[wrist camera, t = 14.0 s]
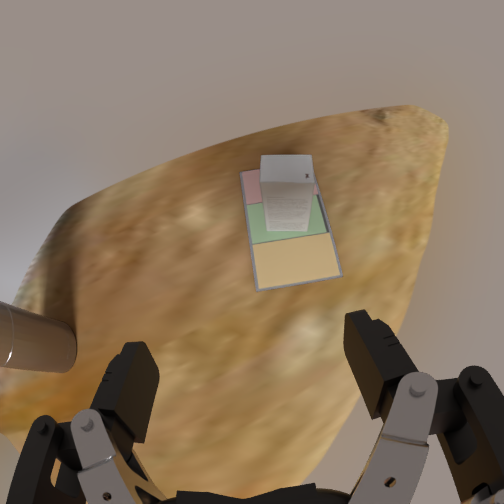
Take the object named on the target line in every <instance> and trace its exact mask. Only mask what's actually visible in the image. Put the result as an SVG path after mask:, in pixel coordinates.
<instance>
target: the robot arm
mask: <svg viewBox="0 0 504 504" xmlns="http://www.w3.org/2000/svg"><path fill="white" fill-rule="evenodd" d="M343 344H344V351H345V355H346V358H347V360H348V363H349V365H350V367H351V370H352V372H353V374H354V377H355V379H356V382H357V384H358V386H359V389H360V391H361V394H362V396H363V398H364V401H365V404H366V406H367V409H368V411H369V414H370V416H371V419H372V420H373V419H376V418H378V417H381V419H382V421H383V423H384V424H383V426H382V429H381V431H380V434H379V436H378V438H377V441H376V443H375V445H374V448H373V450H372V452H371V455H370V457H369V459H368V461H367V463H366V465H365V467H364V469H363V471H362V473H361V475H360V477H359V479H358V480H357V482H356V484H355V486H354V488H353V490H352V492H351V493H350V495H349V494H347V493H344V492H341V491H337V490H332V489H320V488H319V489H318V488H316V485H315V483H311V484H305V485H300V486H293V487H287V488H280V489H277V490H274V491H271V492H268V493H264V494H261V495H258V496H254V497H251V498H247V499H239V498H234V497H228V496H223V495H219V494H214V493H210V492H191V491H177V494H176V497H174V498H170V499H167V498H166V496H165V495H164V494H163V493H162V492H161V491H160V490H159V489H158V488H157V487H156V486H155V484H154V483H153V481H152V480H151V478H150V477H149V475H148V473H147V472H146V470H145V468H144V467H143V465H142V463H141V461H140V460H139V458H138V456H137V454H136V452H135V451H134V450H133V449H132V447H133V443H134V442H135V443H144V442H145V437H146V433H147V428H148V424H149V420H150V415H151V411H152V407H153V403H154V399H155V395H156V391H157V387H158V383H159V377H160V376H159V370H158V367H157V365H156V363H155V361H154V359H153V357H152V355H151V353H150V351H149V349H148V347H147V345H146V344H145V343H144V342H143V341H141V342H127V343H125V345H124V347H123V349H122V351H121V353H120V354H117V355H116V356H115V357H114V359H113V360H112V361H111V362H110V363H109V365H108V367H107V369H106V372H105V373H106V374H104V376H103V378H102V382H101V383H100V385H99V387H98V390H97V392H96V394H95V397H94V399H93V401H92V404H91V406H90V408H89V409H85V410H82V411H80V412H79V413H77V414H76V415H75V416H74V418H73V419H72V421H71V422H64V423H57V422H56V421H55V420H54V419H53V418H52V417H51V416H48V415H43V416H40V417H38V418H37V419H36V420H35V421H34V422H33V424H32V426H31V428H30V431H29V433H28V436H27V438H26V441H25V444H24V446H23V449H22V452H21V455H20V458H19V460H18V463H17V466H16V470H15V473H14V476H13V480H12V483H11V486H10V490H9V494H8V497H7V502H6V504H86V500H87V502H88V504H410V502H411V499H412V497H413V495H414V492H415V490H416V487H417V484H418V482H419V479H420V476H421V473H422V470H423V467H424V464H425V461H426V458H427V454H428V450H429V445H428V444H427V438H428V435H433V434H436V435H437V437H438V440H439V442H440V444H441V447H442V450H443V452H444V455H445V457H446V460H447V462H448V465H449V468H450V471H451V474H452V477H453V480H454V482H455V486H456V488H457V492H458V495H459V498H460V501H461V504H504V396H503V395H502V393H501V391H500V389H499V388H498V386H497V385H496V383H495V382H494V380H493V379H492V377H491V375H490V374H489V373H488V371H486V370H485V369H484V368H482V367H479V366H469V367H466V368H465V369H463V371H462V372H461V373H460V375H459V377H458V378H454V379H445V380H435V379H434V378H433V377H432V376H430V375H429V374H427V373H423V372H419V371H418V370H417V368H416V366H415V365H414V363H413V362H412V360H411V359H410V357H409V355H408V354H407V352H406V351H405V349H404V348H403V346H402V345H401V344H400V342H399V340H398V339H397V337H396V336H395V334H394V333H393V331H392V330H391V328H390V327H389V325H387V324H386V323H384V322H383V321H381V320H380V319H376V320H372V319H371V318H370V316H369V315H368V313H367V312H366V310H364V309H363V310H359V311H355V312H350V313H346V314H345V324H344V341H343ZM76 350H77V347H76V340H75V336H74V334H73V331H72V330H71V328H70V327H69V326H68V325H67V324H66V323H64V322H61V321H58V320H55V319H51V318H48V317H45V316H42V315H39V314H36V313H33V312H30V311H27V310H24V309H21V308H18V307H15V306H12V305H9V304H7V303H4V302H1V301H0V367H6V368H13V369H22V370H31V371H42V372H55V373H64V372H67V371H68V370H69V369H70V368H71V367H72V366H73V364H74V361H75V358H76ZM56 458H57V459H58V460H59V461H60V462H61V465H60V469H59V473H58V477H57V481H56V485H55V487H54V486H53V485H52V483H51V479H50V477H51V473H52V469H53V466H54V462H55V459H56Z"/></svg>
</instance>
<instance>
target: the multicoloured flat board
mask: <svg viewBox="0 0 504 504" xmlns="http://www.w3.org/2000/svg"><path fill="white" fill-rule="evenodd" d="M259 177H260V169H255V170H249V171H243V172H240V179H241V186H242V194H243V201H244V208H245V215H246V222H247V229H248V236H249V243H250V250H251V258H252V265H253V272H254V279H255V286H256V292H257V291H264V290H270V289H276V288H283V287H289V286H295V285H300V284H306V283H312V282H318V281H323V280H329V279H334V278H340V277H343V274H342V270H341V266H340V262H339V258H338V254H337V250H336V246H335V242H334V238H333V235H332V231H331V227H330V224H329V220H328V217H327V213H326V210H325V206H324V203H323V200H322V196H321V193H320V190H319V187H318V184H317V180H316V177H315V174H314V178H315V186H314V192H313V200H312V206H311V213H310V219H309V225H308V231H307V232H302V231H267V230H266V224H265V217H264V209H263V202H262V196H261V189H260V184H259Z"/></svg>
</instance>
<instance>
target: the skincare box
mask: <svg viewBox="0 0 504 504" xmlns="http://www.w3.org/2000/svg"><path fill="white" fill-rule="evenodd" d="M259 184H260V189H261V196H262V202H263V209H264V217H265V224H266V230H267V231H302V232H307V231H308V225H309V219H310V213H311V206H312V200H313V192H314V186H315V178H314V169H313V161H312V155H261V162H260V177H259Z"/></svg>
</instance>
